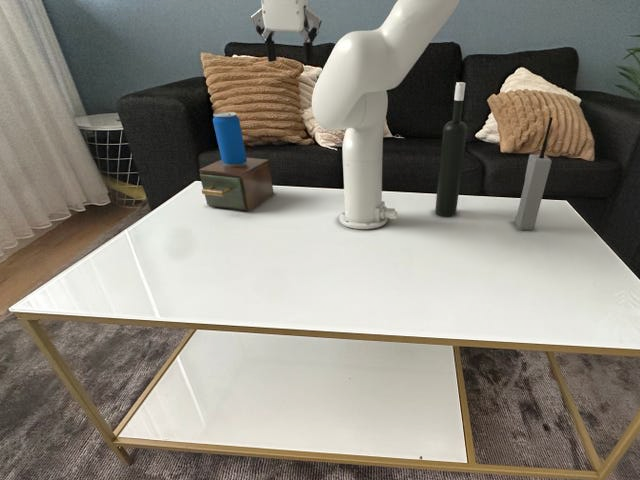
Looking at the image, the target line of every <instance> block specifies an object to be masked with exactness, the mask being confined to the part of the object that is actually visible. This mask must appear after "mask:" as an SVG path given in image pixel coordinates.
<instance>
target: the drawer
mask: <svg viewBox="0 0 640 480" xmlns="http://www.w3.org/2000/svg"><path fill="white" fill-rule="evenodd" d="M199 178H200V181H201V186H202V189H201V193H202V195H204V198H205V201H206V205H208V206H209V205H215V206H223V207H231V208H239V209H245V208H246V203H245V198H244V193H243V188H242V183H241V178H240V177H235V176H226V175H217V174H200V173H199Z"/></svg>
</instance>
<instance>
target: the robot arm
mask: <svg viewBox="0 0 640 480" xmlns="http://www.w3.org/2000/svg"><path fill="white" fill-rule="evenodd" d="M460 2H461V0H397V1H396V2H395V4H394V5H393V7H392V8H391V10H390V13H389V14H388V16H387V17H386V19H385V20H384V22H383V23H382V24H381V25H380V26H379V27H378V28H376V29H373V30H356V31H355V30H354V31H349V32H348V33H346V34H345V35H344V36H342V37H341V38H340V39H339V40H337V43H336V44H335V45H334V47H333V48H332V51H331V53H330V55H329V57H328V59H327V61H326V62H325V64H324V66H323V68H322V70H321V72H320V74H319V76H318V78H317V80H316V83H315V85H314V88H313V91H312V95H311V110H312V111H311V112H312V115H313V117H314V119H315V121H316V123H317V124H318V125H319V126H320V127H321V128H323V129H324V130H327V131H330V132H336V131H337V132H338V131H343V130H345V133H344V136H343V141H342V147H341V148H342V172H343V193H344V196H343V197H344V211H342V212H340V214H339V216H338V219H339V222H340V223H341V224H342V225H343V226H344V227H347V228H349V229H354V230H372V229H373V230H374V229H378V228H380V227H383V226H384V225H385V224H387V222H388V219H390V220H397V219H398V211H396V208H393V207H390V208H389V207H387V206H386V202H385V201H384V200H383V149H384V148H383V147H384V130H385V123H386V118H387V112H388V107H389V106H388V105H389V100H388V92H387V91H388V90H392V89H395V88H397V87H398V86H399V85H400V84H401V83H402V82H403V80H405V78H406V76H407V75H408V74H409V72H410V71H411V70H412V69H413V67H414V66H415V64H416V63H417V61H418V60H419V59H420V57H421V56H422V55H423V54H424V52H425V50H426V49H427V47H428V46H429V44H430V43H431V42H432V40H433V39H434V37H435V36H436V35H437V34H438V32H439V31H440V30H441V29H442V27H443V26H444V24H446V23H447V21H448V20H449V19H450V17H451V16H452V14H453V13H454V12H455V10H456V8H457V7H458V5H459V3H460ZM260 3H261V8H260V9H259V10H257V11H256V12H255V13H254V14H253V15H251V16H250V17H251V18H250V19H251V22H252V24H253V26H254V28H255V30H256V32H257V34H258V35H259V36H260V37H261V39H262V41H264V47H265V55H266V57H267V61H268V63H273V62H276V61H277V51H276V44H275V43H276V42H275V41H274V40H273V37H274V35H275V33H276V32H290V33H292V32H293V33H294V32H295V33H297V32H299V34H300V35H301V37H302V38H303V40H304V42H303V44H302V46H303V47H302V48H303V56H304V57H303V59H304V63H305V64H313V61H314V58H315V57H314V44H313V43H314V42H315V39H316V37H317V36H318V34H319V33H320V29H321V25H322V22H323V21H322V20H323V19H322V17H320V16H319V15H317V14H316V13H314V12H313V11H312V10H310V9H309V2H308V0H260ZM261 20H263V21H262V22H263V25H264V27H263V26H262V23H261ZM311 22H312V24H313V25H312V28H311ZM310 28H311V29H310Z"/></svg>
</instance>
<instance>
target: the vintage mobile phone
mask: <svg viewBox="0 0 640 480" xmlns="http://www.w3.org/2000/svg"><path fill="white" fill-rule="evenodd" d="M553 119H554V117H552V116H551V117H549V119H548V124H547V128H546V131H545V132H546V133H545V137H544V140H543V142H542V146H541V150H540V153H539V154H532V153H531V154H529V155H528V160H527V164H526V165H527V166H526V170H525V177H524V183H523V187H522V192H521V196H520V200H519V205H518V207H517V208H518V209H517V213H516V215H515V217H514V221H513V223H514V224H515V226H516V227H517V228H518V230H520V231H534V230H535V225H536V222H537V218H538V215H539V210H540V207H541V202H542V199H543V196H544V191H545V188H546V184H547V181H548V176H549V173H550V169H551V165H552V159H551V158H549V157H548V156H547V155H546V154H545V153H546V149H547V145H548V139H549V135H550V131H551V127H552V123H553Z"/></svg>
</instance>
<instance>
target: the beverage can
mask: <svg viewBox="0 0 640 480" xmlns="http://www.w3.org/2000/svg"><path fill="white" fill-rule="evenodd" d="M212 116H213V118H212V123H213V128H214V131H215V137H216V142H217V145H218V150H219V153H220V158H221V159H222V163H223V164H225V165H226V166H228V167H239V166H243V165H244V164H245V163H246V162H247V158H248V157H247V154H246V148H245V143H244V142H245V141H244V138H243V133H242V132H243V131H242V128H241V121H240V118H239V116H238V115H237V112H234V111H219V112H215V113H213V115H212ZM221 159H220V160H221Z"/></svg>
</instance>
